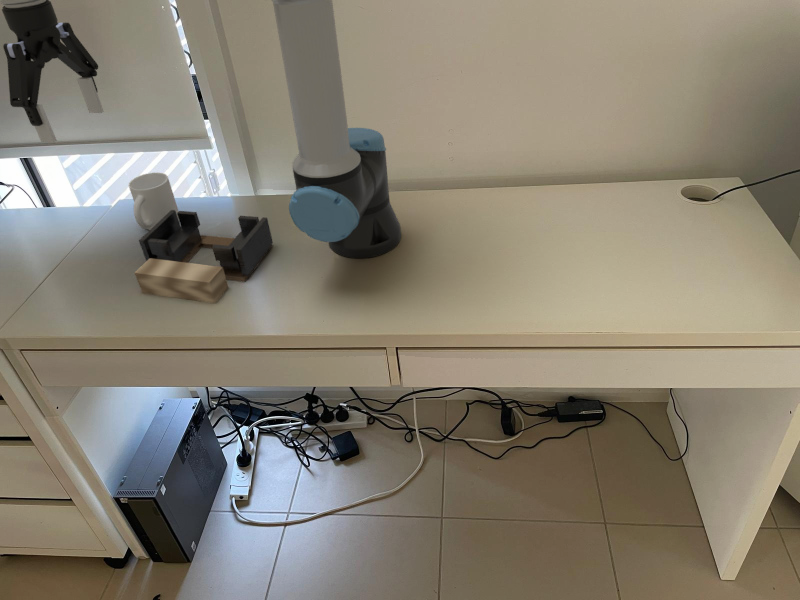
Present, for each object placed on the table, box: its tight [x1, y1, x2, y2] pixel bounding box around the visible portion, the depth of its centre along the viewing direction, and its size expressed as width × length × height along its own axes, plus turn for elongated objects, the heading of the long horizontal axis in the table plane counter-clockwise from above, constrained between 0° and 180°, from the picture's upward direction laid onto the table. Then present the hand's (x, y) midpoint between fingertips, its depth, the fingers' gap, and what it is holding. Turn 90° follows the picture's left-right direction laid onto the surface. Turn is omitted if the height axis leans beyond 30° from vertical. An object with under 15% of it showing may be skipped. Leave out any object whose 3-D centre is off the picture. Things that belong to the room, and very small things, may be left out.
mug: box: [128, 172, 180, 230], centre depth 140 cm, size 12×8×10 cm
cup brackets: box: [138, 210, 274, 283], centre depth 129 cm, size 22×13×7 cm, turn 75°
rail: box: [134, 258, 230, 304], centre depth 121 cm, size 16×5×5 cm, turn 73°
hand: (73, 126), depth 118 cm, fingers open, 13 cm apart
